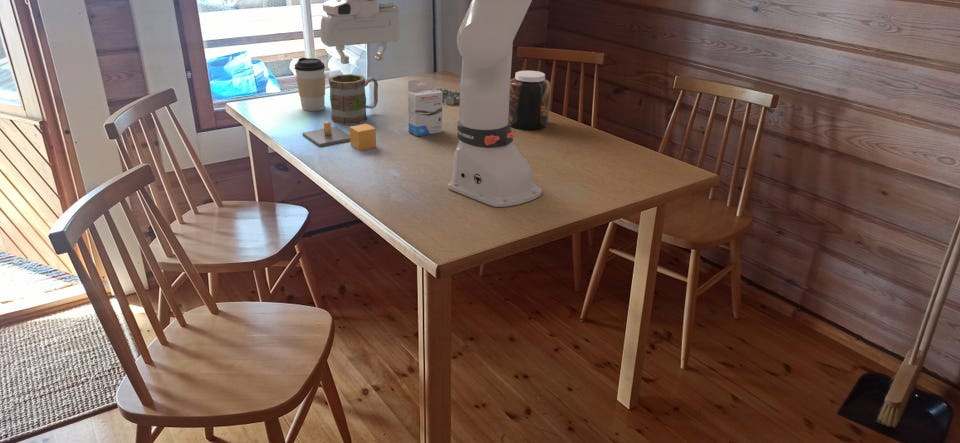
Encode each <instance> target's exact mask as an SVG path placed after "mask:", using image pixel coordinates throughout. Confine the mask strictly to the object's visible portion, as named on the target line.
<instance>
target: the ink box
mask: <svg viewBox="0 0 960 443" xmlns="http://www.w3.org/2000/svg"><path fill="white" fill-rule="evenodd" d="M407 82H408V84H407V85H408V86H407V87H408V88H407V89H408V91H407V112H408V113H407V116H408V118H407V120H408V133H410V134H412V135H414V137H415V136H416V137H419V136H420V137H421V136H426V135H427V136H428V135H432V134H433V135H434V134H438V133H439V134H440V133H442V132H443V102H442V91H440V90H437V89H438V88H435V78H434V77H426V78H419V79H418V78H417V79H409V80H408V81H407ZM420 83H425V84H420ZM418 84H419V85H418Z"/></svg>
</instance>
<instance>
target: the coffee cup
mask: <svg viewBox="0 0 960 443" xmlns="http://www.w3.org/2000/svg"><path fill="white" fill-rule="evenodd" d="M325 69H326V66H325V63H324V62H322V60H321V59H319V58H314V57H313V58H312V57H309V58H308V57H300V58H298V60H297V63H295V64H294V70H295V75H296V76H295V78H296V83H297V89H298V93H299V94H298V95H299V98H300V99H299V100H300V103H301V109H302V111H306V112H316V111H322V110H324V109H325V106H326V105H325V97H326V96H325V95H326V74H325Z"/></svg>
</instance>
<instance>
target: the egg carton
mask: <svg viewBox="0 0 960 443" xmlns="http://www.w3.org/2000/svg"><path fill="white" fill-rule="evenodd" d="M436 89H437V90H440V91H442V103H444V105H445V106H447V105H449V106H453V105H455V104H460V89H459V90H452V89H447V88H446V87H444V88H442V87H440V88H436Z"/></svg>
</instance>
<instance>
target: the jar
mask: <svg viewBox="0 0 960 443" xmlns="http://www.w3.org/2000/svg"><path fill="white" fill-rule="evenodd" d="M550 82H551V81H549V80H548V79H546V74H545V73H544V72H542V71H538V70H537V71H536V70H518V71H516V72H515V76H514V78H510V93H509V118H508V122H509V123H510V127H511V128H512V129H517V130H521V131H540V130H543V129H546V128H547V127H548V125H549V115H550V114H549V113H550V101H551V100H550V99H551V83H550Z"/></svg>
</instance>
